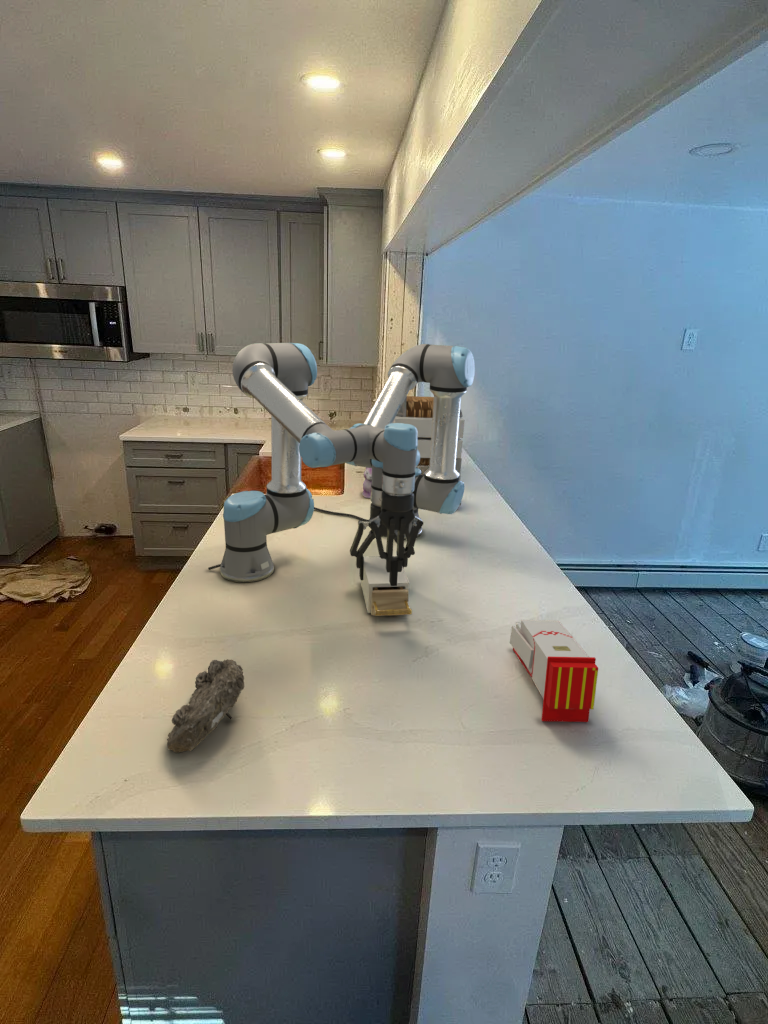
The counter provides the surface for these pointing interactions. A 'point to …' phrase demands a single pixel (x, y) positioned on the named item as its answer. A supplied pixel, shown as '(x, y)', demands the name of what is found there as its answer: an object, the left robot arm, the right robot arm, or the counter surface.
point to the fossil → (206, 705)
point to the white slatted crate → (425, 426)
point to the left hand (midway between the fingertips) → (393, 583)
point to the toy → (556, 669)
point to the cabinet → (378, 578)
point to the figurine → (367, 483)
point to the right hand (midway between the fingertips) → (381, 577)
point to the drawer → (390, 601)
